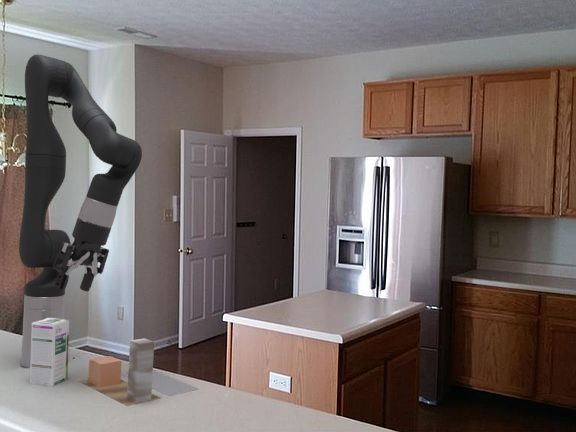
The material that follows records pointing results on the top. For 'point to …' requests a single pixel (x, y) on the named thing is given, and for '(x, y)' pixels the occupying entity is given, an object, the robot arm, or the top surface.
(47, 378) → the syrup box
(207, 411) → the top surface
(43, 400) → the top surface
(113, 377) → the terracotta block
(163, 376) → the grey flat slab
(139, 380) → the base with upright panel
